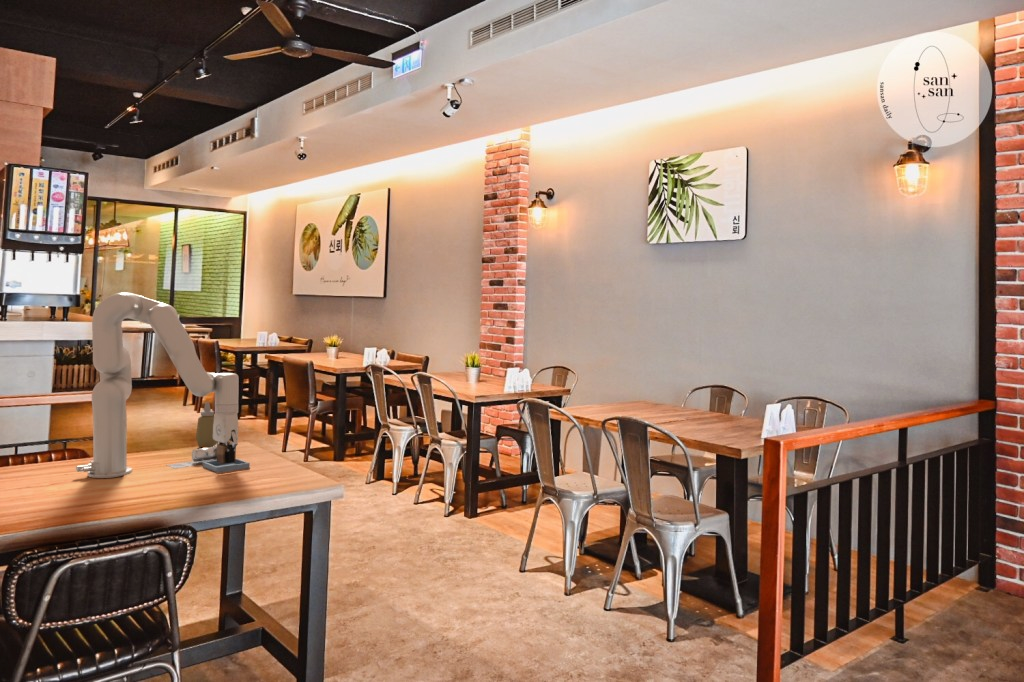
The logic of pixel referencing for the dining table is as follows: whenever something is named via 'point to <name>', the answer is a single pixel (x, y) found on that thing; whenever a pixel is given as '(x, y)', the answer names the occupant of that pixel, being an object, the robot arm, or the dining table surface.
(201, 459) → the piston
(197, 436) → the squeeze bottle
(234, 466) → the tray
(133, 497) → the dining table surface
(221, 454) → the block
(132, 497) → the dining table surface
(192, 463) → the rail
